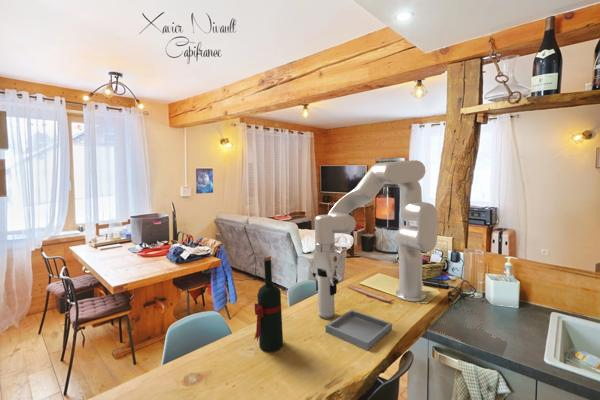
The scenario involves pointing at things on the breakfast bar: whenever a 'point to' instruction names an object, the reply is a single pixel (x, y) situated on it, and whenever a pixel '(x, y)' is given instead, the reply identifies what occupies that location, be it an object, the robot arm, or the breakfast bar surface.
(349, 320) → the tray
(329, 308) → the travel mug
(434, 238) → the robot arm
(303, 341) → the breakfast bar surface
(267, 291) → the wine bottle
